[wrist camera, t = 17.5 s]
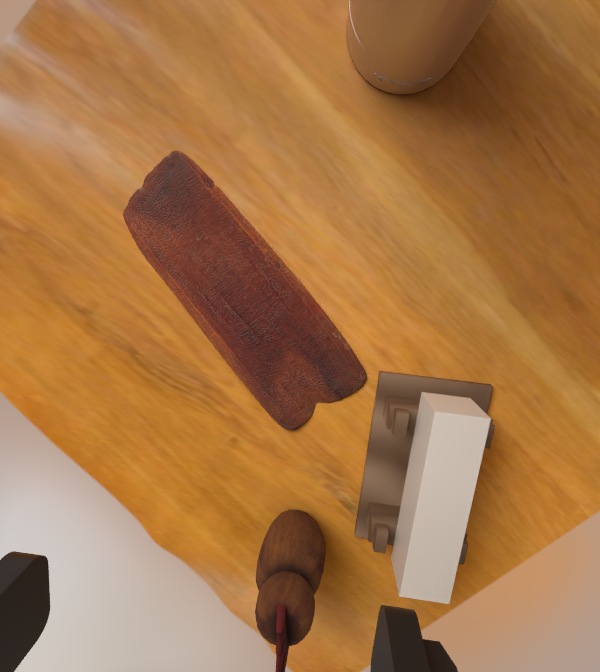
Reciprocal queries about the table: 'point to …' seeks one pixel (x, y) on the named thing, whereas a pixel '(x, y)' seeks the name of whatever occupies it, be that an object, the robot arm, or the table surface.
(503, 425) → the table surface
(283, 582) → the wooden figurine
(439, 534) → the white rectangular block
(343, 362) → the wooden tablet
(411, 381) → the rack
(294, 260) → the table surface
